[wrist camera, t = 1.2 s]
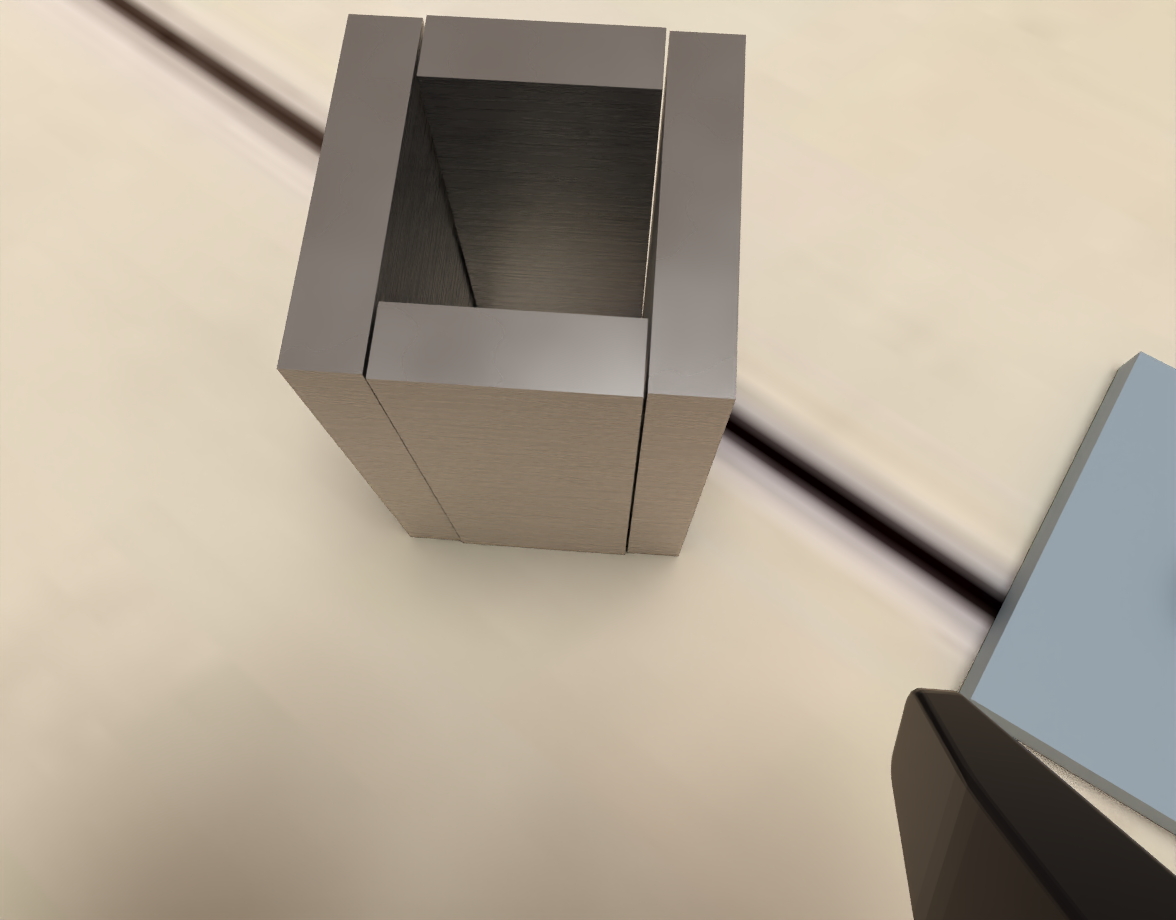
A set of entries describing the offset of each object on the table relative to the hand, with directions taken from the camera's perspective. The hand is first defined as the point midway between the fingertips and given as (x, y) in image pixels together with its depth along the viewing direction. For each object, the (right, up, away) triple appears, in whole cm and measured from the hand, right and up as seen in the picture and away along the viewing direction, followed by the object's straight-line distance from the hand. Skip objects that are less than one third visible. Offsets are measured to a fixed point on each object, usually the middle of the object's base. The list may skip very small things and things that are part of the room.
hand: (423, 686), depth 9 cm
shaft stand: (+16, -1, +13) cm, 21 cm away
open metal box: (+1, +3, +15) cm, 15 cm away
